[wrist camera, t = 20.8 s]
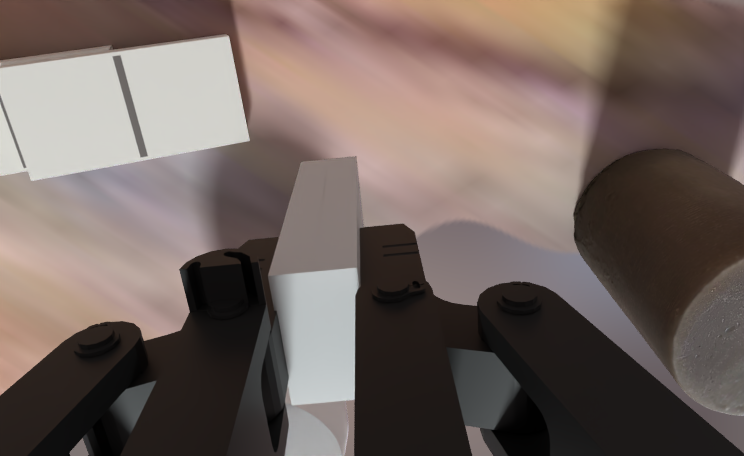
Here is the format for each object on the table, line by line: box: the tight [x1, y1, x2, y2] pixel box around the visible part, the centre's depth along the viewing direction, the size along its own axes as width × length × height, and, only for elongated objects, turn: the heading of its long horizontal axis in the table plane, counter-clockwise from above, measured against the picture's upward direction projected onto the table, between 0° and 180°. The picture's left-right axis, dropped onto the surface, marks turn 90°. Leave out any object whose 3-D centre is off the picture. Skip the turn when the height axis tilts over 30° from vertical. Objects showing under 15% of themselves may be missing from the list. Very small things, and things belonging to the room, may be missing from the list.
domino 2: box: [0, 34, 250, 181], centre depth 33 cm, size 2×6×12 cm
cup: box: [285, 386, 349, 456], centre depth 37 cm, size 9×9×12 cm
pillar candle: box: [574, 149, 744, 416], centre depth 32 cm, size 10×10×15 cm
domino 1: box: [0, 45, 113, 176], centre depth 33 cm, size 2×6×12 cm
